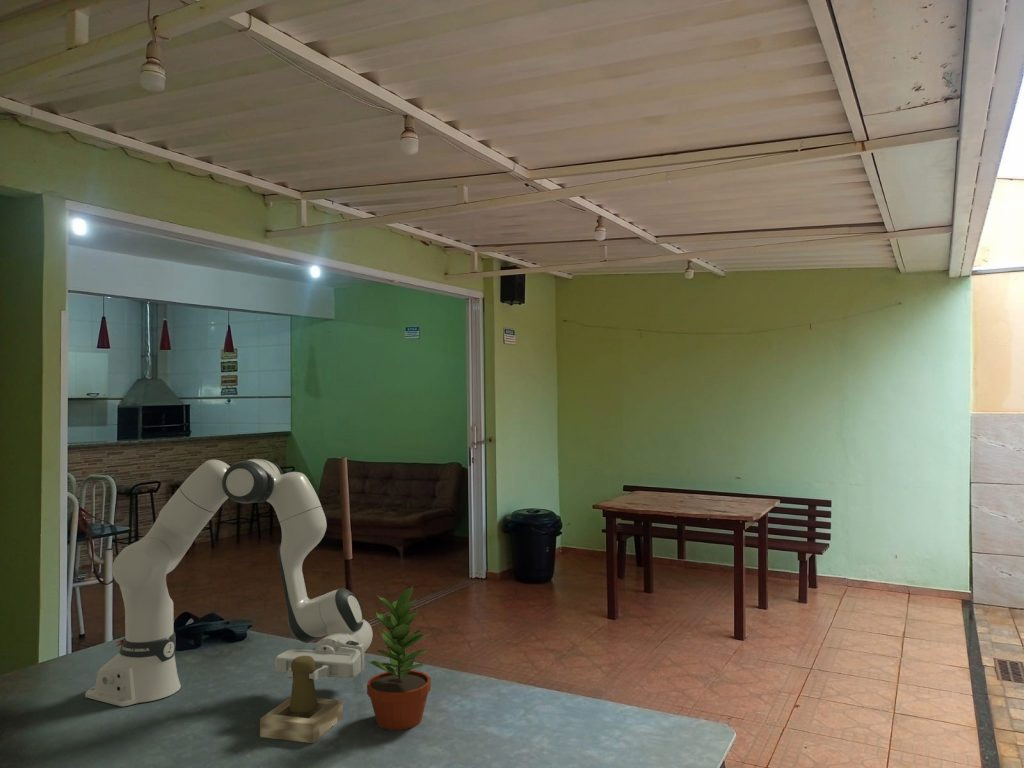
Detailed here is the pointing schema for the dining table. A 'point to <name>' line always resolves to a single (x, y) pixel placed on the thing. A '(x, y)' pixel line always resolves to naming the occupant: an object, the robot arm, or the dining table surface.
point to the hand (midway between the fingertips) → (300, 675)
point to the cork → (302, 685)
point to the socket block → (301, 721)
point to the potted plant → (399, 670)
